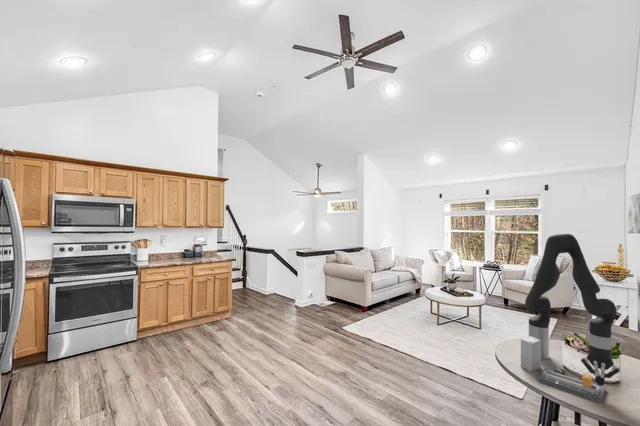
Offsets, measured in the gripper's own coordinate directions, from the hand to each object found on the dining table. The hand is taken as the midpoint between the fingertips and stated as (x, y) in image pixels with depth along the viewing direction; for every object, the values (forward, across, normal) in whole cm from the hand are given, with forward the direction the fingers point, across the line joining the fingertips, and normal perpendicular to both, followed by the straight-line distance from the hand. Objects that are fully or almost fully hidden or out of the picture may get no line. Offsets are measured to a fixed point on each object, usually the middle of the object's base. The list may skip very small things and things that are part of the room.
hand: (599, 384), depth 132 cm
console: (+5, +10, -2) cm, 12 cm away
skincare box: (+6, +27, -7) cm, 29 cm away
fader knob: (+3, +4, 0) cm, 5 cm away
